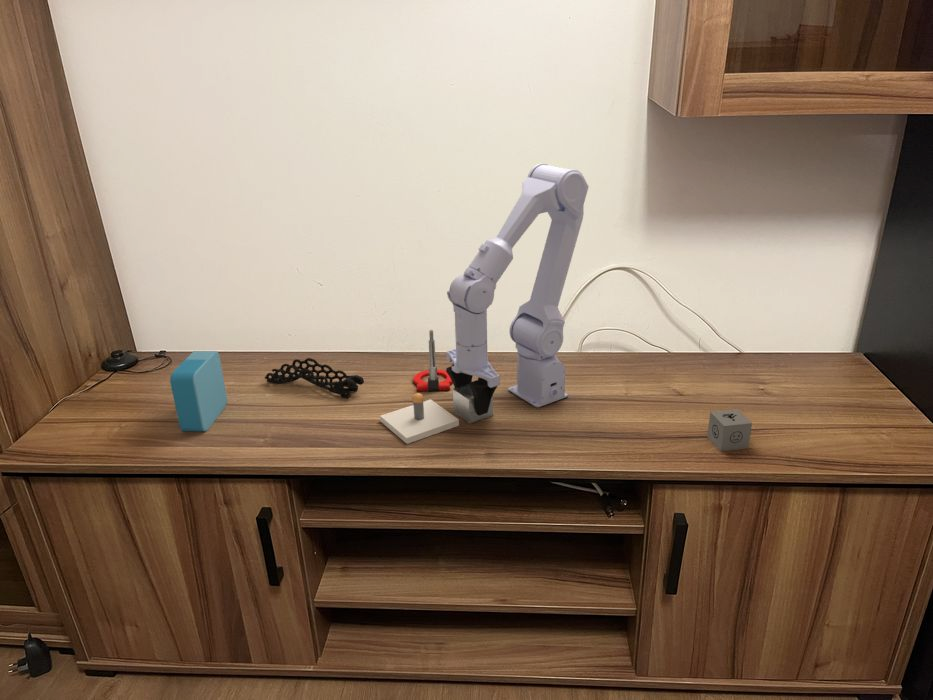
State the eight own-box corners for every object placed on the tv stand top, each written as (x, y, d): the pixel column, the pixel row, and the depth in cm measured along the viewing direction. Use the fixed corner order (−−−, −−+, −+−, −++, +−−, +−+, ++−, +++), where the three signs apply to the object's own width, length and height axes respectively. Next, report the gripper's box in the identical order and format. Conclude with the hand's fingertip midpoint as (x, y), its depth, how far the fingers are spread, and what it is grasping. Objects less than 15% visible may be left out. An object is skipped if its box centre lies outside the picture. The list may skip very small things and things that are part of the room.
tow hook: (414, 375, 153) (412, 392, 145) (411, 317, 149) (409, 332, 140) (453, 373, 153) (454, 391, 145) (452, 316, 149) (452, 331, 140)
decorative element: (262, 387, 149) (258, 361, 147) (276, 376, 154) (273, 351, 151) (358, 403, 142) (355, 376, 139) (370, 392, 146) (367, 365, 144)
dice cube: (733, 434, 127) (737, 409, 125) (748, 448, 123) (752, 423, 120) (707, 436, 126) (710, 411, 124) (720, 451, 122) (724, 426, 120)
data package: (206, 403, 143) (195, 348, 138) (228, 403, 142) (218, 348, 137) (180, 434, 132) (168, 375, 127) (204, 434, 131) (193, 375, 126)
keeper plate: (459, 425, 132) (458, 395, 130) (406, 444, 126) (404, 413, 124) (430, 404, 140) (429, 376, 137) (380, 421, 134) (378, 391, 132)
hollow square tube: (493, 415, 135) (493, 391, 133) (469, 423, 132) (468, 399, 130) (476, 404, 139) (476, 381, 137) (453, 412, 136) (452, 388, 134)
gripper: (431, 333, 133) (434, 398, 139) (476, 359, 122) (477, 429, 128) (463, 325, 137) (465, 388, 142) (509, 349, 126) (509, 417, 131)
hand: (473, 407), depth 135 cm, fingers closed on hollow square tube, 5 cm apart
